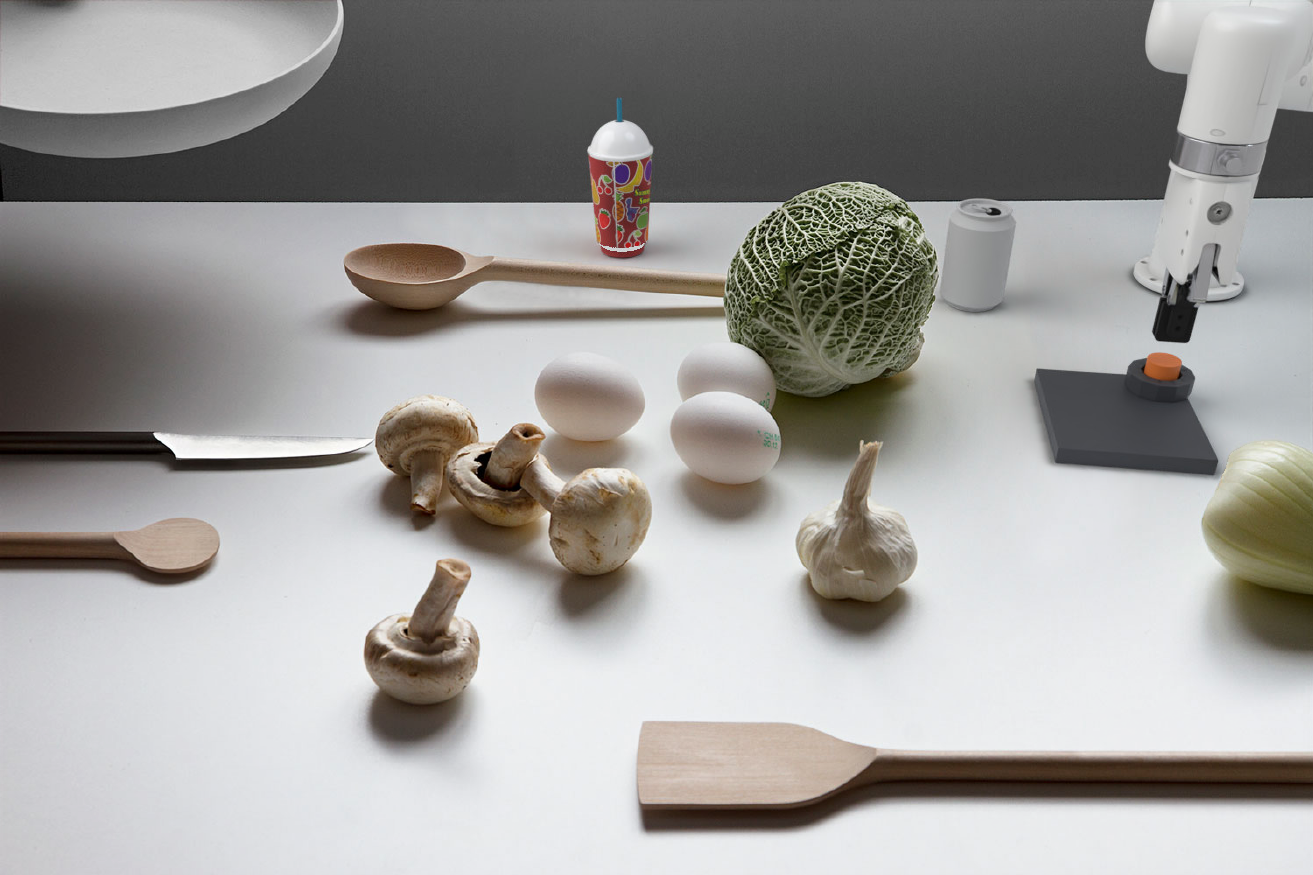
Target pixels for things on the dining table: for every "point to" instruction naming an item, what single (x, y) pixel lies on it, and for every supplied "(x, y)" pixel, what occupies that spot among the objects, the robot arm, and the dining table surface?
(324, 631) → the dining table surface
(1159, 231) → the robot arm
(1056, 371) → the grey flat slab
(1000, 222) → the can
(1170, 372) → the tare button
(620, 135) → the smoothie
